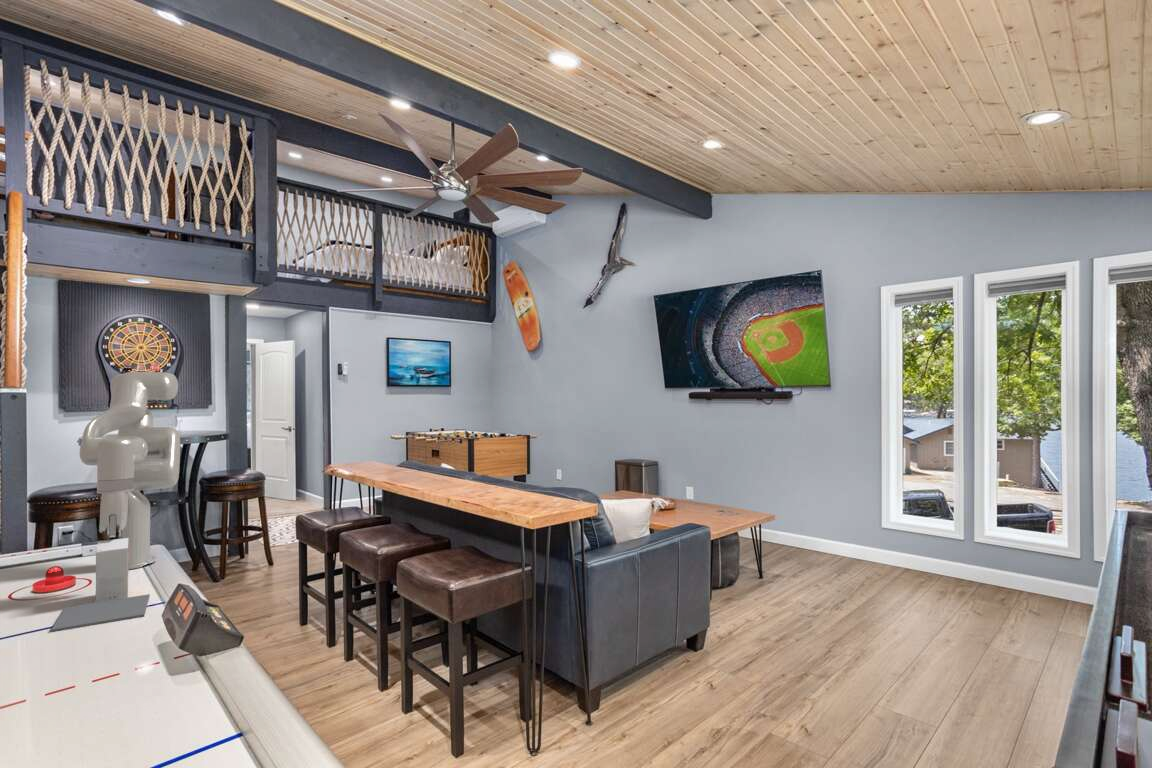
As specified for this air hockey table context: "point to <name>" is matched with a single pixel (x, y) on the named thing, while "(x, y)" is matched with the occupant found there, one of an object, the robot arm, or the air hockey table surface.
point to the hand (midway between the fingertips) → (114, 557)
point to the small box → (112, 569)
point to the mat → (101, 612)
